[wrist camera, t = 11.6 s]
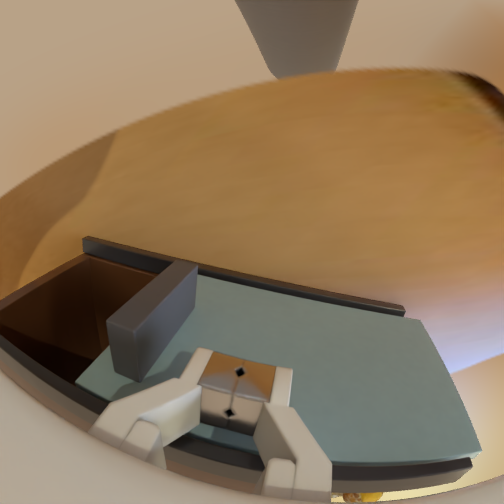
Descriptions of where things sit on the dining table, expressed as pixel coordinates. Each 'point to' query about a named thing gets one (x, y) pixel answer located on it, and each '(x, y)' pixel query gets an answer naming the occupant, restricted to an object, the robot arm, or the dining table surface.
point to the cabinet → (96, 341)
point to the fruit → (358, 497)
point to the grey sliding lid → (294, 366)
